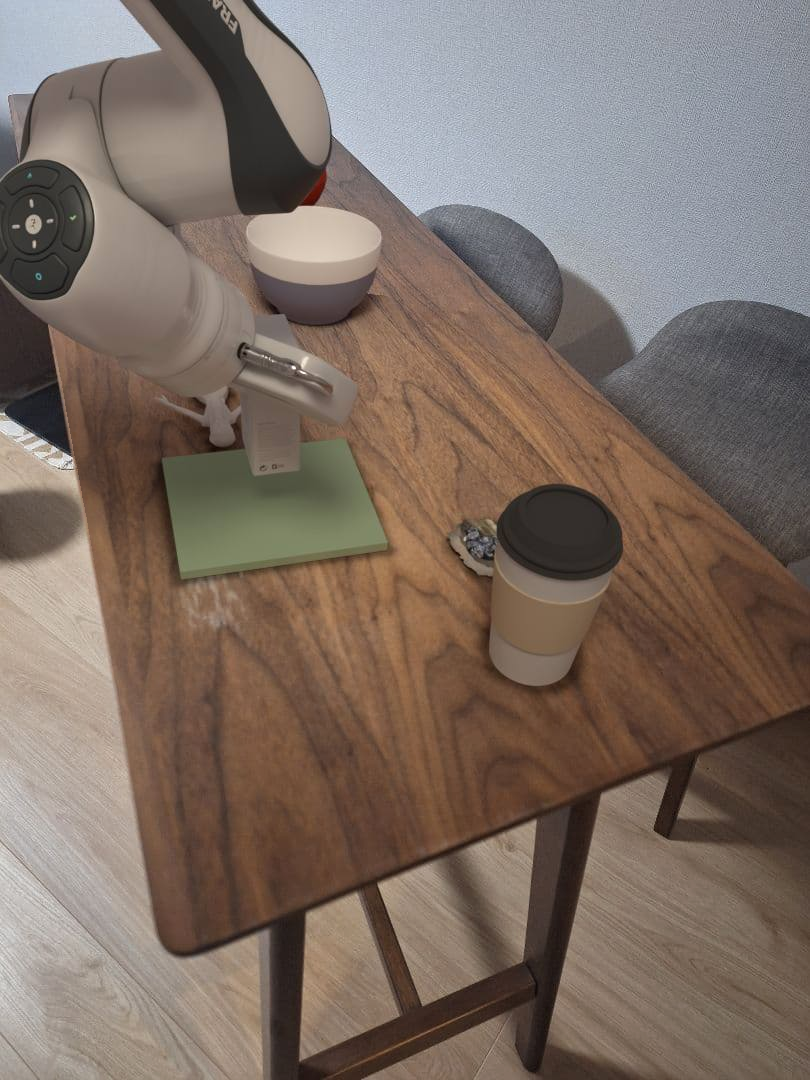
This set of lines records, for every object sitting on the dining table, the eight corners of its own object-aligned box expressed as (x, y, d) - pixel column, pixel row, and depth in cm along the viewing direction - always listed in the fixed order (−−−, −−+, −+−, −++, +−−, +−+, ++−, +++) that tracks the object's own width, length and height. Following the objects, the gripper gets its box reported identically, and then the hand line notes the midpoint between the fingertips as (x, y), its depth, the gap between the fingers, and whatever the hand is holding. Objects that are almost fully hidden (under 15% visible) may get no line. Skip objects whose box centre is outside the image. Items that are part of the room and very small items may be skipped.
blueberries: (476, 513, 86) (478, 498, 84) (547, 554, 82) (551, 538, 81) (432, 548, 82) (434, 532, 80) (505, 592, 78) (508, 576, 77)
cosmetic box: (301, 472, 79) (301, 349, 71) (252, 478, 78) (246, 353, 70) (288, 431, 83) (286, 311, 75) (241, 437, 82) (233, 315, 74)
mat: (180, 580, 76) (179, 571, 76) (162, 466, 88) (161, 457, 87) (387, 550, 81) (388, 542, 80) (345, 445, 92) (345, 437, 92)
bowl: (360, 349, 107) (364, 272, 100) (230, 326, 108) (225, 249, 102) (389, 289, 118) (394, 217, 112) (271, 269, 120) (270, 197, 114)
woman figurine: (250, 318, 101) (283, 418, 89) (251, 352, 104) (283, 453, 92) (142, 326, 98) (161, 431, 86) (146, 361, 101) (165, 467, 89)
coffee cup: (458, 672, 71) (483, 527, 61) (495, 598, 77) (523, 455, 67) (570, 713, 69) (615, 569, 59) (598, 633, 75) (643, 492, 65)
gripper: (332, 331, 60) (395, 391, 73) (93, 248, 66) (190, 317, 79) (295, 420, 60) (364, 464, 73) (59, 328, 66) (162, 384, 79)
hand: (272, 387), depth 76 cm, fingers closed on cosmetic box, 7 cm apart
